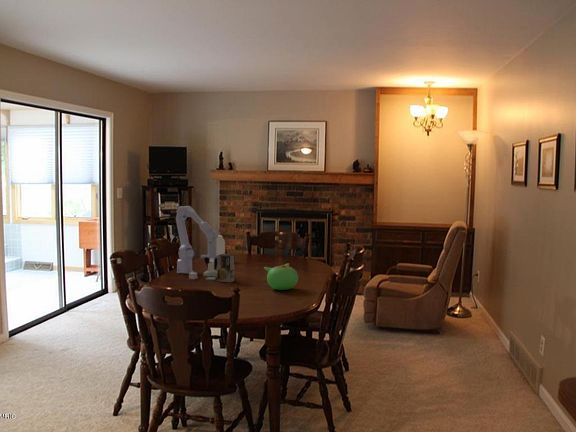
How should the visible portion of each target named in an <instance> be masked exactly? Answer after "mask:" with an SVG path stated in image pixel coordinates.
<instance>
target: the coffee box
mask: <svg viewBox="0 0 576 432" xmlns="http://www.w3.org/2000/svg"><path fill="white" fill-rule="evenodd" d="M216 271H217V279H216V281H217V282H221V283H232V282H234V281H235V254H228V253H227V254H226V253H225V254H220V255H218V256H217V268H216Z"/></svg>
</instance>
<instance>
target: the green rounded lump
mask: <svg viewBox="0 0 576 432" xmlns="http://www.w3.org/2000/svg"><path fill="white" fill-rule="evenodd" d="M263 270H265V271H266V272H267V275H266V281H267V284H268V285H269V286H270V287H271V288H272V289H275V290H278V291H285V290H290V289H292V288H294V287H295V286H296V285H297V284H298V281H299V274H298V272H297V270H296V269H294V268H293V267H292V266H290V263H289V262H288V263H285V264H282V265H277V266H274V267H267V266H264V267H263Z"/></svg>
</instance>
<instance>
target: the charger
mask: <svg viewBox="0 0 576 432" xmlns="http://www.w3.org/2000/svg"><path fill="white" fill-rule="evenodd" d="M207 270H208V273H215V272H216V271H217V269H216V270H214V263H213V262H210V263H208V269H207Z"/></svg>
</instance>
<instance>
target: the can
mask: <svg viewBox="0 0 576 432" xmlns="http://www.w3.org/2000/svg"><path fill="white" fill-rule="evenodd" d="M220 254H226V240H225V239H224V237H223V235H222V234H218V237H217V251H216V255H220ZM212 258H215V257H210V262H211V263H214V259H212Z"/></svg>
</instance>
